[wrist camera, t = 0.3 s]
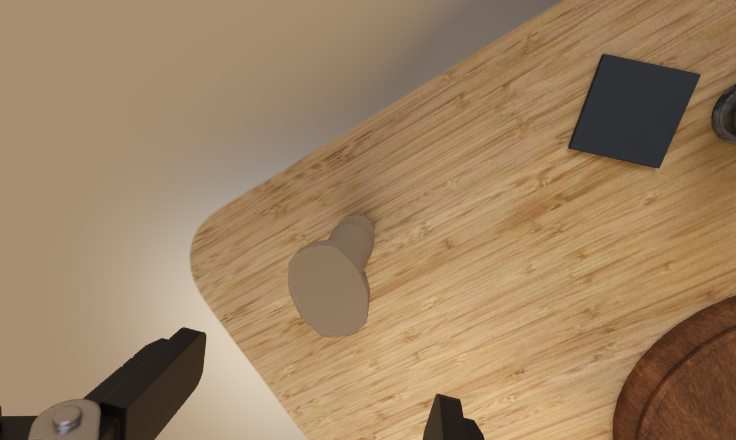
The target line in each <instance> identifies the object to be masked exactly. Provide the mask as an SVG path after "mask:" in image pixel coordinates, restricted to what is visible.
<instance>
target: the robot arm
mask: <svg viewBox="0 0 736 440" xmlns="http://www.w3.org/2000/svg"><path fill="white" fill-rule="evenodd" d="M205 346H206V334H205V333H204V332H200V331H196V330H193V329H189V328H184V327H183V328H181V329H180V330H179V331H178V332H177V333H175V334H174V335H173V336H172V337H171V338H170V339H169V340H167V339H163V338H161V339H159V340H157V341H155V342H153V343H150V344H148V345H146V346H145V347H144V348H142V349H141V350H140V351H139V352H138V353H136V354H135V355H134V356H133V358H130V359H129V360H128V361H127V362H126V363H125V364H124V365H123V367H120V368H119V369H118V370H116V371H115V372H114V373H113V374H112V375H110V376H109V377H108V378H107V379H106V380H105V381H103V382H102V383H101V384H100V385H99V386H98V387H96V388H95V389H94V390H93V391H91V392H90V393H89V394H88V395H87V396H85V398H83V399H74V400H68V401H64V402H61V403H59V404H56V405H54V406H52V407H50V408H48V409H47V410H45V411H44V412H42V413H41V414H40V415H39V416H2V414H1V406H0V440H154V439H155V438H156V437H157V436H158V435H159V433H160V432H161V431H162V430H163V428H164V427H165V426H166V425H167V423H168V422H169V421H170V420H171V418H172V417H173V416H174V415H175V414H176V412H177V411H178V410H179V409H180V407H181V406H182V405H183V404H184V402H185V401H186V400H187V399H188V397H189V396H190V395H191V394H192V392H193V391H194V390H195V389H196V387H197V385H198V383H199V381H200V379H201V376H202V373H203V366H204V355H205ZM423 440H484V436H483V434H482V432H481V431H480V429H479V428H478V426H477V424H476V423H475V421H474V420H471V419H467V418H464V417H463V412H462V406H461V401H460V399H457V398H453V397H449V396H445V395H441V394H436V396H435V399H434V402H433V405H432V408H431V411H430V415H429V418H428V421H427V424H426V427H425V431H424V435H423Z"/></svg>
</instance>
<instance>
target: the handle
mask: <svg viewBox="0 0 736 440" xmlns="http://www.w3.org/2000/svg"><path fill="white" fill-rule="evenodd" d="M374 237H375V234H374V222H373V221H372V220H370V219H368V218H366V217H365V216H364V214H363V213H361V212H358V213H357V214H356V215H353V216H350V215H349V216H347V217H346V218H345V219H344V220H342V221H341V222H340V223H339V224H338V225H337V226H336V227H335V229H334V230H333V232H332V233H331V235H330V237H329V239H328V240H325V241H318V242H314V243H311V244H309V245H307V246H305V247H303V248H302V249H300V250H299V251H298V252H297V253H296V254H295V256H294V257H293V258H292V259H291V261H290V262H289V268H288V287H289V292H290V295H291V297H292V300H293V302H294V304H295V306H296V309H297V311H298V312H299V314H300V316H301V317H302V318H303V319H304V320H305V322H307V323H308V324H309V325H310V326H311V327H312V328H313V329H314V330H315V331H316V332H318V333H319V334H320V335H322V336H326V337H342V336H347V335H350V334H352V333H354V332H356V331H358V330H359V329H360V328H362V327H363V326H364V324H365V323H366V321H367V316H368V308H369V298H370V288H369V284H368V280H367V277H366V273H365V271H364V268H365V266H366V264H367V262H368V260H369V258H370V256H371V253H372V250H373V246H374Z"/></svg>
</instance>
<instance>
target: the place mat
mask: <svg viewBox="0 0 736 440" xmlns="http://www.w3.org/2000/svg"><path fill="white" fill-rule="evenodd" d="M699 78H700V74H696V73H691V72H686V71H682V70H677V69H672V68H668V67H663V66H658V65H654V64H649V63H644V62H640V61H635V60H630V59H625V58H621V57H616V56H611V55H607V54H603V55H602V57H601V60H600V62H599V65H598V68H597V71H596V73H595V76H594V79H593V82H592V84H591V87H590V90H589V92H588V95H587V98H586V101H585V103H584V106H583V109H582V112H581V114H580V117H579V120H578V122H577V125H576V128H575V131H574V133H573V136H572V139H571V142H570V144H569V147H568V148H570V149H575V150H579V151H584V152H588V153H593V154H597V155H601V156H606V157H610V158H615V159H619V160H623V161H628V162H632V163H637V164H641V165H646V166H650V167H654V168H660V166H661V163H662V161H663V159H664V157H665V154H666V152H667V150H668V148H669V145H670V143H671V141H672V138H673V136H674V134H675V132H676V129H677V127H678V125H679V123H680V120H681V118H682V116H683V114H684V111H685V109H686V107H687V105H688V102H689V100H690V98H691V96H692V93H693V91H694V89H695V87H696V84H697V82H698V80H699Z"/></svg>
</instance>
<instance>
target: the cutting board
mask: <svg viewBox="0 0 736 440" xmlns="http://www.w3.org/2000/svg"><path fill="white" fill-rule="evenodd" d="M613 438H614V440H736V296H733V297H730V298H727V299H725V300H723V301H721V302H719V303H716V304H714V305H712V306H710V307H708V308H705V309H703V310H701V311H699V312H698V313H696V314H694V315H693V316H691V317H690V318H688V319H686V320H685V321H683V322H681V323H680V324H678V325H677V326H675V327H674V328H673V329H672V330H671V331H669V332H668V333H667V334H666V335H664V336H663V337H662V338H661V339H659V340H658V341H657V342H656V343H655V344H654V345H653V346H652V347H651V348H650V349H649V351H648V352H647V353H646V354H645V355H644V356H643V357H642V358H641V359H640V360H639V362H638V363H637V365H636V366H635V368H634V369H633V371H632V372H631V374H630V375H629V377H628V378H627V380H626V382H625V385H624V387H623V389H622V391H621V393H620V396H619V398H618V402H617V406H616V410H615V414H614V426H613Z"/></svg>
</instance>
